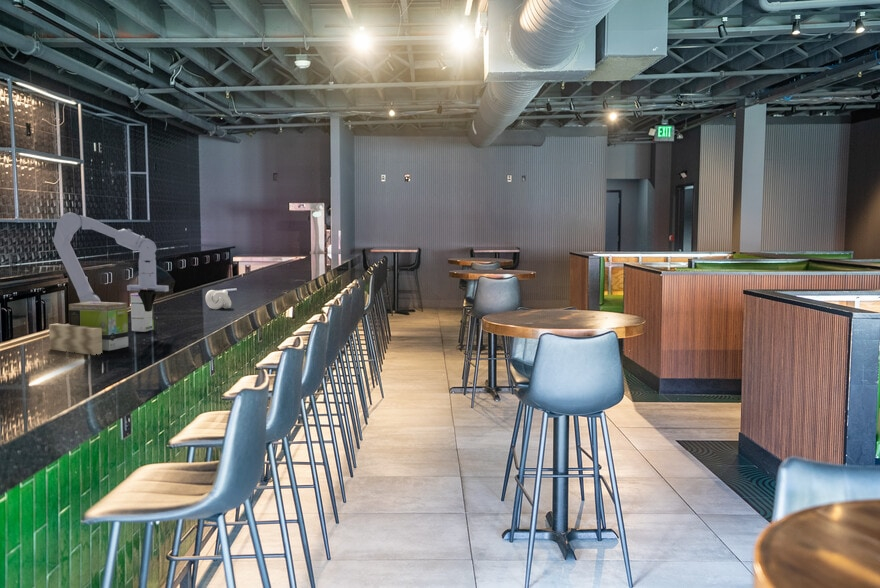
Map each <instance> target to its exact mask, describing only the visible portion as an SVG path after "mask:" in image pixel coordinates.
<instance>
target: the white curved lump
mask: <svg viewBox="0 0 880 588" xmlns="http://www.w3.org/2000/svg"><path fill="white" fill-rule="evenodd" d="M228 291H229V290H227V289H223V290H215V289H210V290H208V291H207V292H206V294H205V297H204V298H205V303H206V305H207V306H208V307H209V308H210V309H212V310H220V309H221V308H224V309H230V308H231V307H232V300H231V298H230V296H229V295H228V294H229V292H228Z"/></svg>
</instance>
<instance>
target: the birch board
mask: <svg viewBox="0 0 880 588" xmlns="http://www.w3.org/2000/svg"><path fill="white" fill-rule="evenodd" d="M48 327H49V330H48V332H49V350H52V351H61V352H66V351H67V353H74V352H75V353H74V354H83V355H90V354H91V356H96V354H97V355H101V353H102V354H103V350H102V328H96V327H86V326H77V325H69V324H67V323H51V324H48Z"/></svg>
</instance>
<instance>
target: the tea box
mask: <svg viewBox="0 0 880 588" xmlns="http://www.w3.org/2000/svg"><path fill="white" fill-rule="evenodd" d="M128 319H129V316H128V302H113V301H112V302H110V301H109V302H108V301H101V302H82V303H80V302H75V303H69V304H68V323H69V324H68V325H77V326H86V327H96V328H102V351H115V350H119V349H123V348H127V347H129V323H128V322H129V320H128Z"/></svg>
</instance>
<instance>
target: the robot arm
mask: <svg viewBox="0 0 880 588" xmlns="http://www.w3.org/2000/svg"><path fill="white" fill-rule="evenodd" d="M80 229H81V230H93V231H94V232H98V233H101V234H103V235H105V236H107V237H110V238H113V239H114V240H115V242H116V244H118V245H120V246H121V247H125V248H127V249H130V250H132V251H134V252H136V251H138V252H139V255H138V256H139V258H138V284H127V285H126V291H138V292H137V293H138V295H139V297H140V298H141V300H142V302H143V305H144V308H145V311H146V312H149V311H152V306H153V307H154V302H155V301H156V300H155V299H156V298H157V295H158V294H159V292H165V293H166V292H169V291H170V289H169V287H170V286H169V285H160V284H157V259H156V258H157V256H156V252H157V250H158V249H157V245H156V243H155V241H153V240H151V239H150V238H148V237H147V238H146V236H145V235H143V234H141V235H140V234H137V233H135V232H133V230H132V229H130V228H127V229H126V228H121V229H116V228H113V227H112V226H110V225H108V224H105V223H103V222H101V221H98V220H97V219H94V218H91V217H88V216H84V215H81V214H79V215H78V214H77V213H75V212H66V213H63V214H62V215H61V217H60V218H59V219H58V221H57V222H56V227H55V232H54V235H53V236H54V237H53V241H52V242H53V244H54V247H55V249H56V252H57V253H58V255H59V257H60V259H61V262H62V263H63V266H64V267H65V270H66V272H67V274H68V276H69V279H70V281H71V282H72V284H73V287H74V289H75V291H76V294H77V297H78V299H79V303H82V302H102V301H101V299H100V297H99V295H97V294H95V292H94V291H93V289H92V287H91V285H90V283H89V281H88V278H87V275H85V272H84V270H83V268H82V266H81V264H80V261H79V259H78V257H77V255H76V253H75V251H74V248H73V247H72V245H71V241H72V239H73V238H74V234H75V233H76V232H77V231H78V230H80Z"/></svg>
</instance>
